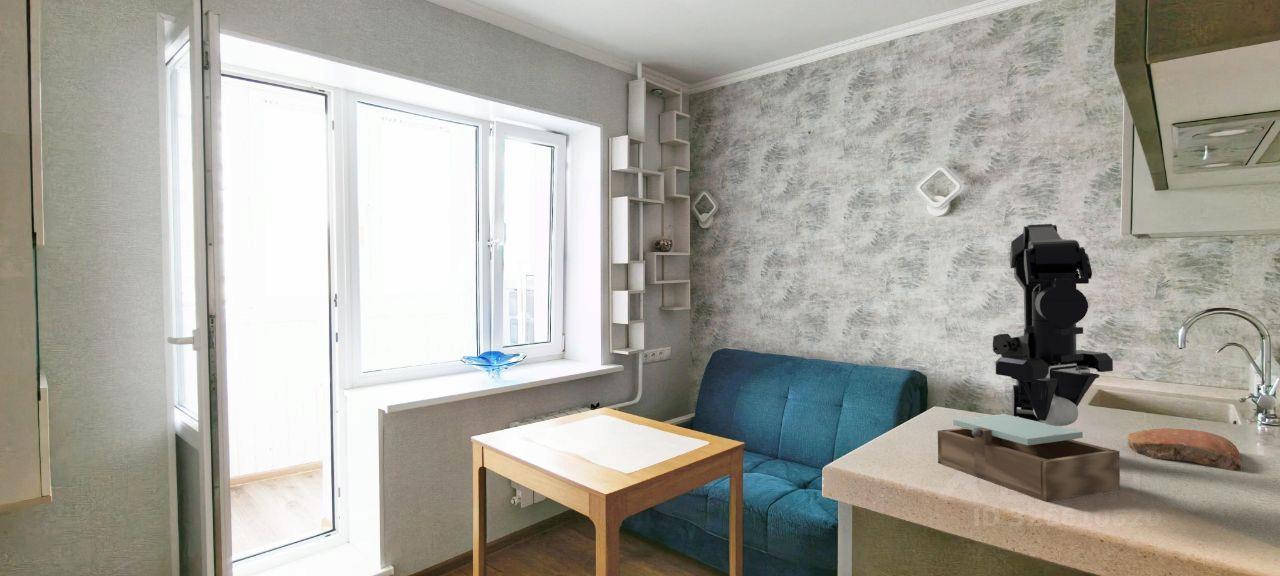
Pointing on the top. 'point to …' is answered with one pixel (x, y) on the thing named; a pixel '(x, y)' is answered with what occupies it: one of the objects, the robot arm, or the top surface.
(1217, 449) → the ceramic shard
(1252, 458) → the top surface
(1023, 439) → the trapdoor plate
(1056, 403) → the garlic
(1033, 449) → the frame
